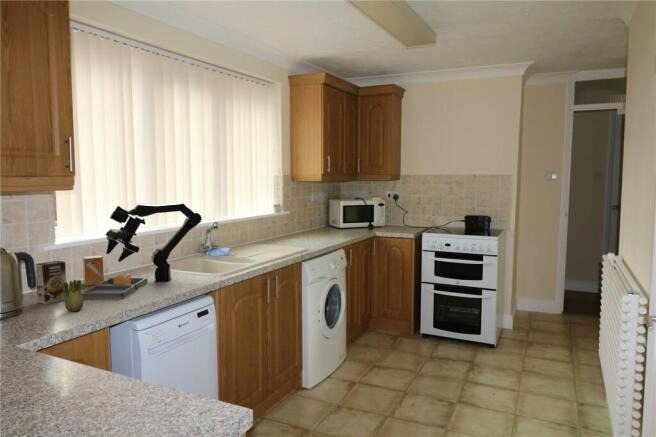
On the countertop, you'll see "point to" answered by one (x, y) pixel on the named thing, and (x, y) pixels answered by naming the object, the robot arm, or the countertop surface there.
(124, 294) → the case lid
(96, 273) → the small box
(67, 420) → the countertop surface
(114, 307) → the countertop surface
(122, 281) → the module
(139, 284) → the case
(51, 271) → the coffee box
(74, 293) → the fennel bulb
